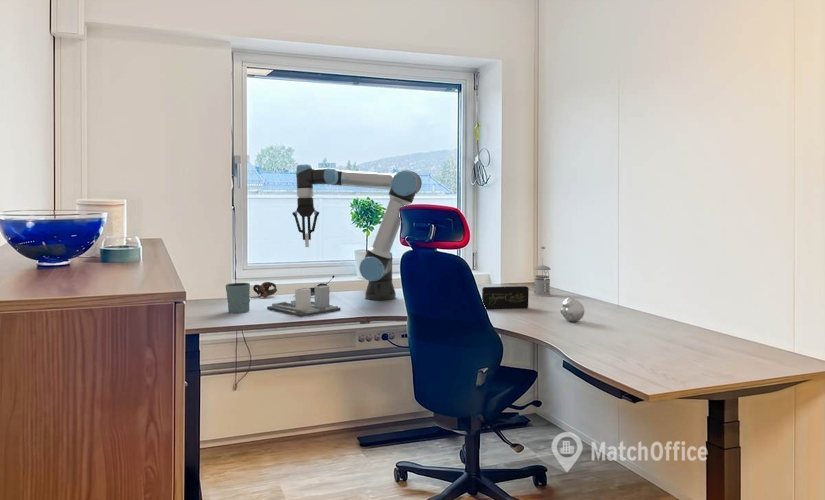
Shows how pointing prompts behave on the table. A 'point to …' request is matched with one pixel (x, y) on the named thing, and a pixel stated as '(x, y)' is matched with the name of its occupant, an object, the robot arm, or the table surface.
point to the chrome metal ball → (572, 309)
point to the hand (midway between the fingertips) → (307, 246)
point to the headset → (319, 285)
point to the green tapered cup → (238, 297)
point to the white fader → (303, 299)
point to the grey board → (291, 310)
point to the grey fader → (322, 296)
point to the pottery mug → (265, 289)
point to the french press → (542, 282)
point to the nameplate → (505, 297)
